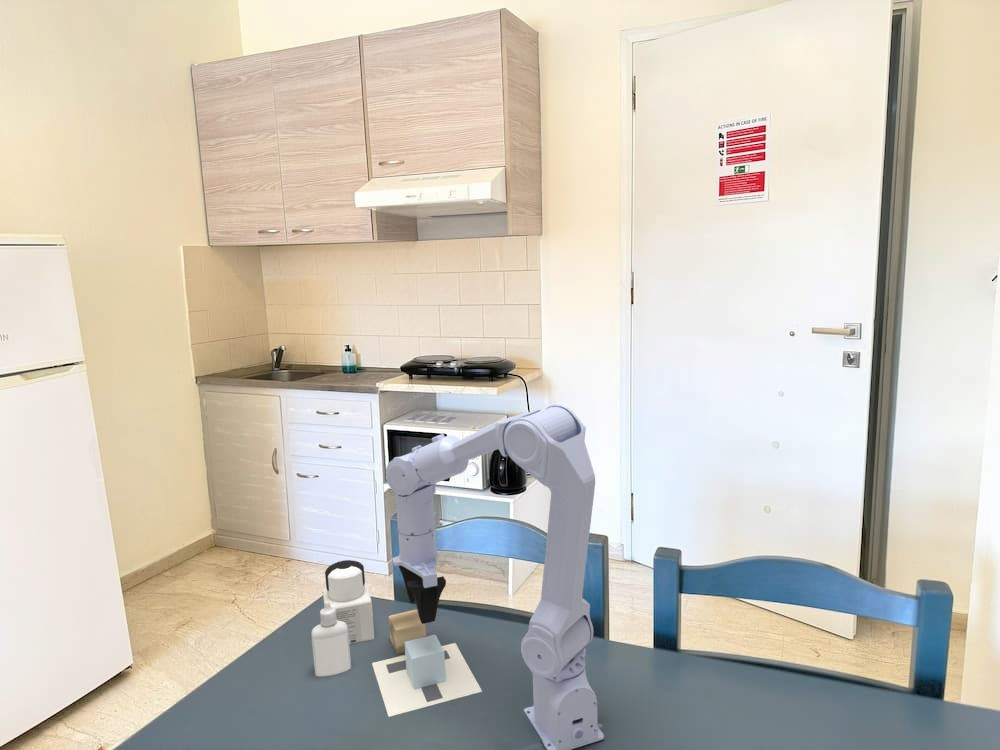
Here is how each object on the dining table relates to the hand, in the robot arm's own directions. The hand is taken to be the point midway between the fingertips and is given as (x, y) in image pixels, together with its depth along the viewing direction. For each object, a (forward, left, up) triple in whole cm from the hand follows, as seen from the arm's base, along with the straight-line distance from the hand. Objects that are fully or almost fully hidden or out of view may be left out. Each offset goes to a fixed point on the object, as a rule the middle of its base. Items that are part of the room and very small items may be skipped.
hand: (421, 609), depth 105 cm
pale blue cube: (-4, +1, -9) cm, 10 cm away
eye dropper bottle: (+4, +14, -10) cm, 18 cm away
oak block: (+6, +1, -10) cm, 12 cm away
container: (+14, +10, -10) cm, 20 cm away
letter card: (-4, +1, -10) cm, 10 cm away
